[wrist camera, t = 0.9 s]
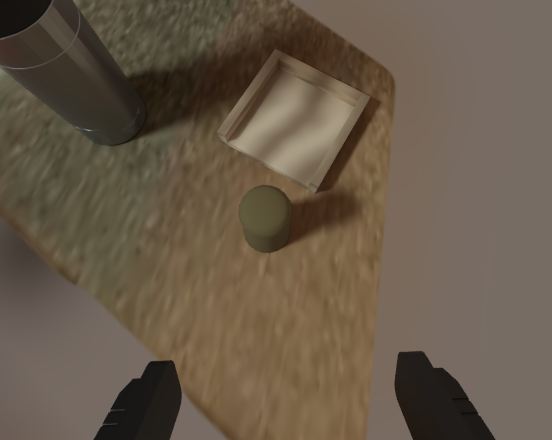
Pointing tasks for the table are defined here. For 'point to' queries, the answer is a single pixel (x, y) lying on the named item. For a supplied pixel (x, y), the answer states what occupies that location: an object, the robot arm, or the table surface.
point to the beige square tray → (293, 119)
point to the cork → (266, 218)
